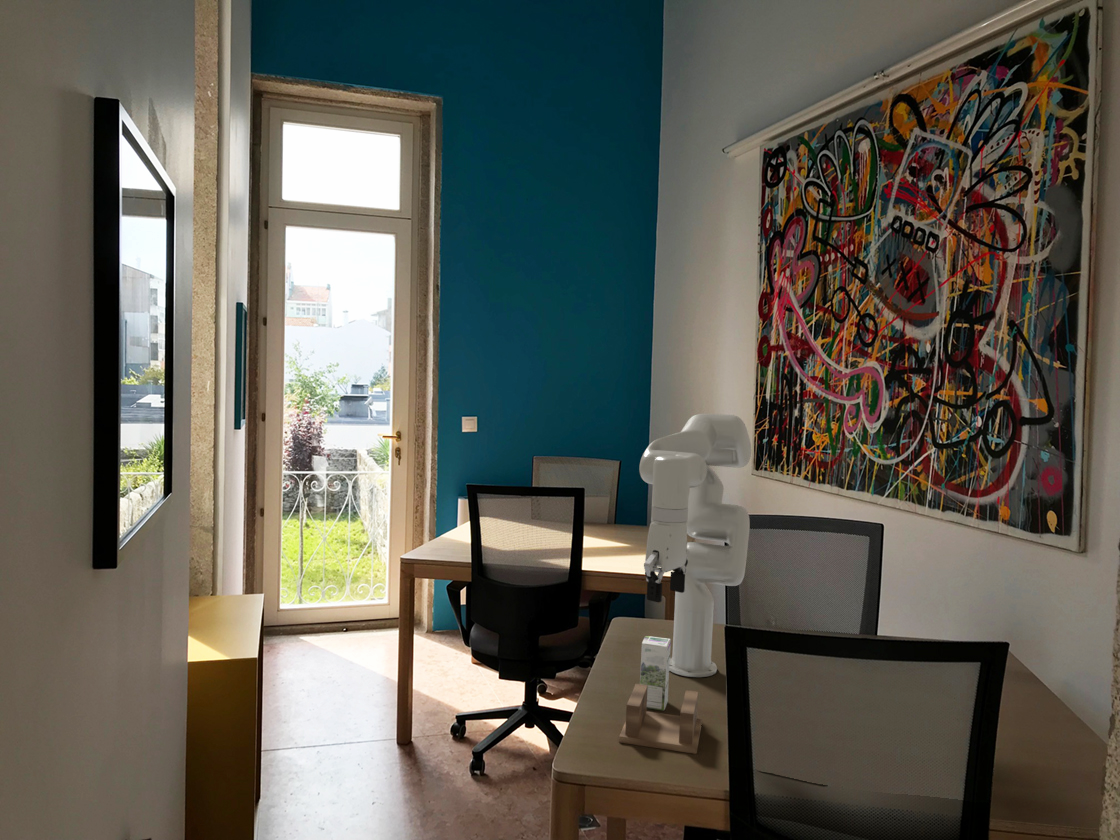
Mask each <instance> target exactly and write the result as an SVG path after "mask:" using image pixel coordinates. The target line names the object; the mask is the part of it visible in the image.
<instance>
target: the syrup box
mask: <svg viewBox="0 0 1120 840" xmlns="http://www.w3.org/2000/svg"><path fill="white" fill-rule="evenodd" d="M671 641H672V639H671V638H666V637H659V636H650V635H645V636H644V638H643V640H642V642H641V654H640V658H641V659H640V672H639V673H640V675H639V676H640V677H639V684H643V685H648V689H647V709H649V710H656V711H662V712H663V711H665V709H666V707H667V704H668V700H669V677H670V671H669V663H670V658H671V644H672V643H671Z"/></svg>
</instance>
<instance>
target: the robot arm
mask: <svg viewBox="0 0 1120 840" xmlns="http://www.w3.org/2000/svg"><path fill="white" fill-rule="evenodd" d="M748 432H749V431H748V429H747V426H746V424H745V422H744V420H742V418H741V417H739V416H737V415H734V414H721V413H720V414H719V413H717V414H716V413H698V414H695V415H692V416H691V417H690V418H689V419H688V420H687V421H686V422H685V424H684V426H683V427H682V429H681V430H680V432H676V433H673V434H669V435H666V436H662V437H660V438H657V439H655V440H653V441H652V442H651V443H649V445H648V446H647V447H646V449H645V450H644V452H643V453H642V456H641V458H640V462H639V469H638V470H639V475H640V478H641V479H642V480H643V481H644V482H645V483H647V484H648V485H649V484H650V485H652V495H651V496H652V497H651V517H650V524H649V528H648V533H647V541H646V549H645V561H644V563H643V569H644V575H645V580H646V582H647V583H646V586H647V587H646V600H647V601H650V602H654V603H659V604H660V603H662V601H663V582H661V581H662V579H663V577H664V574H665V573H669V572H670V580H669V581H670V582H669V583H670V584H669V590H670V591H671V592H675V595H674V614H673V616H674V617H673V634H672V635H673V638H672V652H671V653H672V655H671V656H670V663H669V672H671V673H673V674H676V675H679V676H683V677H689V678H705V677H706V678H707V677H711V676H713V675H715V674H716V673H717V669H718V666H717V665H716V663H715V662H714V661H712V646H713V645H712V643H713V629H714V628H713V626H714V609H715V608H714V607H715V606H714V603H715V602H714V597H713V594H712V593H711V591H710V590H709V588H708V586H707V585H706V584H713V585H720V586H727V587H728V586H729V587H736V586H739V585H741V584H742V582H743V580H744V578H745V573H746V568H747V566H746V565H747V559H748V558H747V557H748V549H749V539H750V526H751V524H750V522H751V521H750V514H749V512H748V509H746V508H745V507H743V506H742V505H738V504H737V505H736V504H732V503H723V497H724V490H725V489H724V485H723V482H722V480H721V479H720V477H719V476H718V475H717V473H716V472H715V471H714V470H713V469H712V466H714V467H724V468H725V467H726V468H737V469H738V468H740V469H741V468H744V467H746V466H747V465H748V464H749V463H750V459H751V457H752V445H751V439H750V436H749V433H748ZM688 536H689V537H690V538H693V539H698V540H704V541H712V542H722V543H726V544H728V545H721V544H713V543H704V542H696V541H695V542H693V541H690V542H688ZM656 573H657V574H656Z"/></svg>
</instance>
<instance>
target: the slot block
mask: <svg viewBox="0 0 1120 840" xmlns="http://www.w3.org/2000/svg"><path fill="white" fill-rule="evenodd" d="M647 689H648V685H643V684H640V683H635V685H634V686H633V689H632V692H631V694H630V696H629V699H628V701H627V703H626V708H625V709H626V711H625V722H624V724H623V726H622V729H621V732H620V734H619V737H618V738H619V739H618V743H622V744H628V745H634V746H641V747H650V748H654V749H655V748H656V749H661V750H668V751H669V750H670V751H676V752H680V753H689V754H695V755H697V752H698V747H699V741H700V735H701V730H702V726H701V725H702V724H703V719H702V718H698V705H699V704H698V703H699V691H697V690H696V691H695V690H689V689H688V690H687V689H686V690H685V693H684V697H683V701H682V705H681V708H680V712H679V713H680V715H676V714H669V713H661V712H654V711H649V710H648V708H647Z"/></svg>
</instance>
